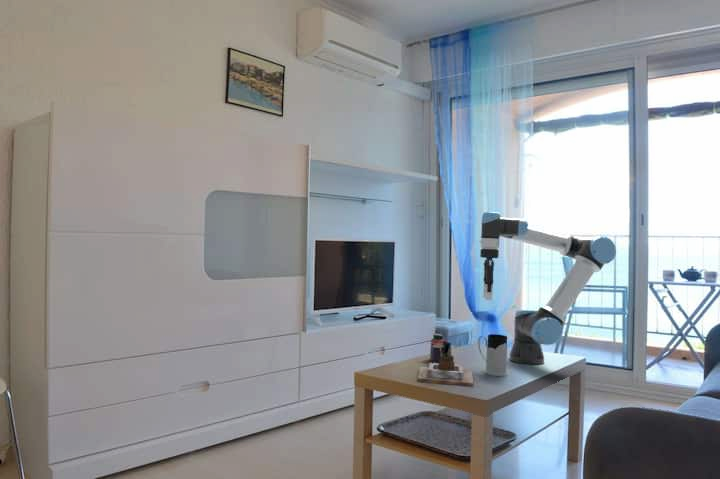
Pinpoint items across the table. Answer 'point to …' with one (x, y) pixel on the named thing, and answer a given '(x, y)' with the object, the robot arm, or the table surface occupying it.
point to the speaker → (437, 352)
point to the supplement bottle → (436, 342)
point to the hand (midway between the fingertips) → (487, 298)
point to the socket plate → (445, 375)
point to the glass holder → (495, 354)
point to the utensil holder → (446, 362)
